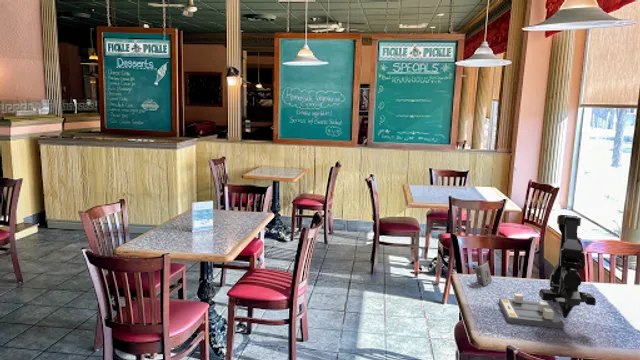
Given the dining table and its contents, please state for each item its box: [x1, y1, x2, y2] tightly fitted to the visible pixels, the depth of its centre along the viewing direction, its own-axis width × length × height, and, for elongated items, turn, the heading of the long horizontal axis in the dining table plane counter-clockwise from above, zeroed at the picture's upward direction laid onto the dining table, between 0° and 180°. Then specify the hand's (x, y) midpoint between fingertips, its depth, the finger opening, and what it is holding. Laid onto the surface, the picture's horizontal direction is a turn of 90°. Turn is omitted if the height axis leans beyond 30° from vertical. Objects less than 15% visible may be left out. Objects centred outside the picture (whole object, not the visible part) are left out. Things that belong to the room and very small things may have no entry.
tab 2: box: [543, 308, 554, 320], centre depth 181 cm, size 3×3×3 cm
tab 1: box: [537, 301, 549, 312], centre depth 188 cm, size 3×3×3 cm
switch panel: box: [498, 297, 565, 329], centre depth 189 cm, size 20×20×2 cm
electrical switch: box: [474, 262, 493, 287], centre depth 225 cm, size 9×5×9 cm, turn 141°
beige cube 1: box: [513, 292, 524, 303], centre depth 196 cm, size 3×3×3 cm
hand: (564, 317), depth 180 cm, fingers closed
